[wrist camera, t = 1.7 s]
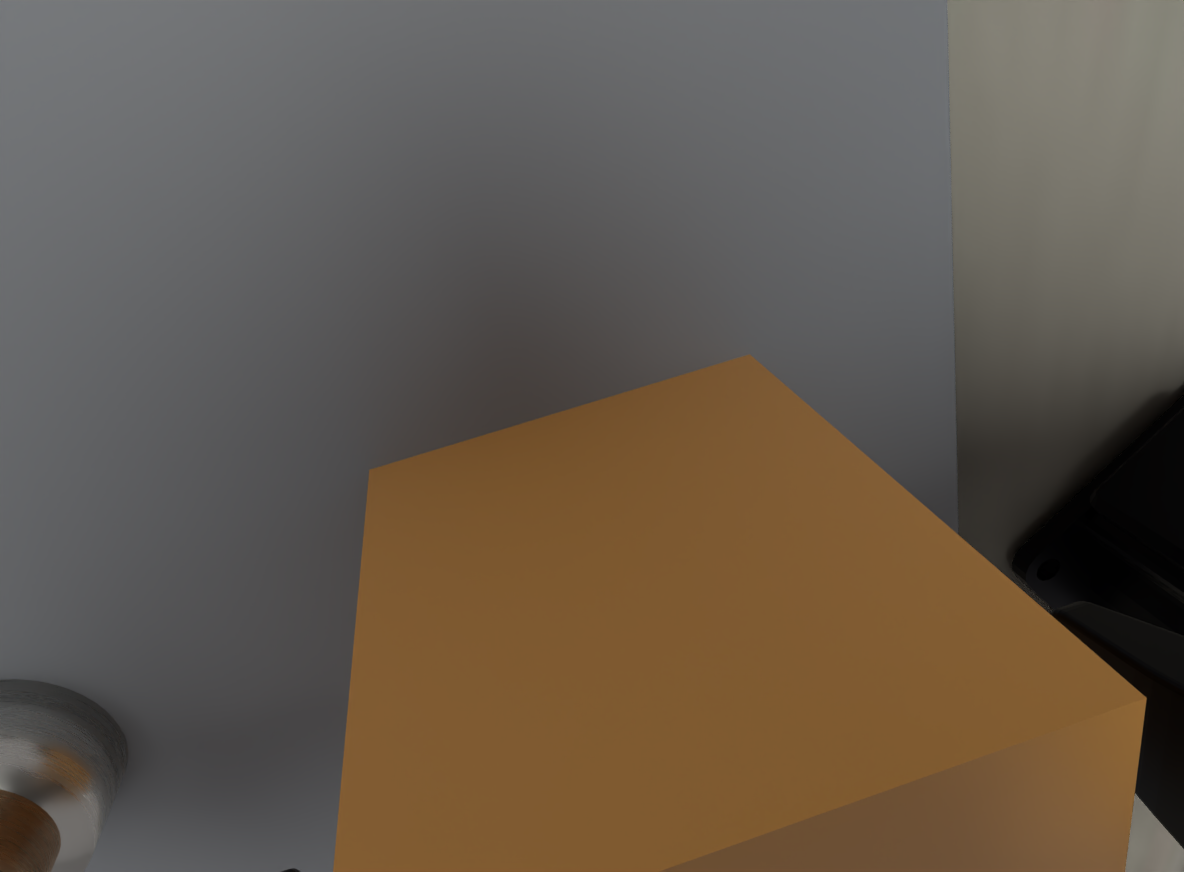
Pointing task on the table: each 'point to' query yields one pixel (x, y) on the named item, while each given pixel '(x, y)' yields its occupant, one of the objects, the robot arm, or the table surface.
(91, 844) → the copper silver stepped knob
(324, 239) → the flat grey board
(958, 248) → the table surface
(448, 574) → the orange cardboard-tone cube
